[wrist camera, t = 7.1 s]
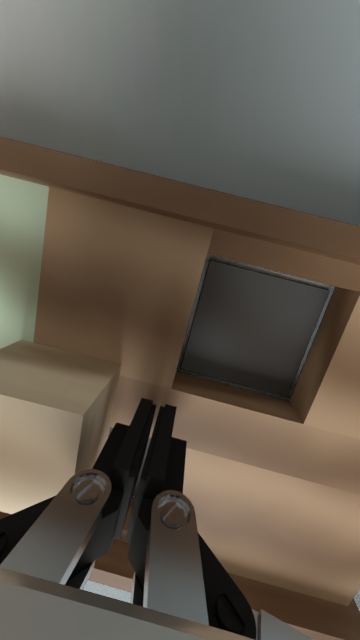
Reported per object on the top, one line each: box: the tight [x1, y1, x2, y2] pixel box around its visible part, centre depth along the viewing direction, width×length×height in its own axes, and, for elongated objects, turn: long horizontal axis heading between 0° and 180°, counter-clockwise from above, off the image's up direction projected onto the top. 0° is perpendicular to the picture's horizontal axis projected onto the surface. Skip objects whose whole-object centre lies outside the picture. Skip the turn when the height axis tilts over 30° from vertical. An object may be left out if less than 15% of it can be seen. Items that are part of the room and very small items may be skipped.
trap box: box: [0, 137, 360, 640], centre depth 12 cm, size 20×28×5 cm
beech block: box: [0, 340, 121, 514], centre depth 11 cm, size 5×5×4 cm
